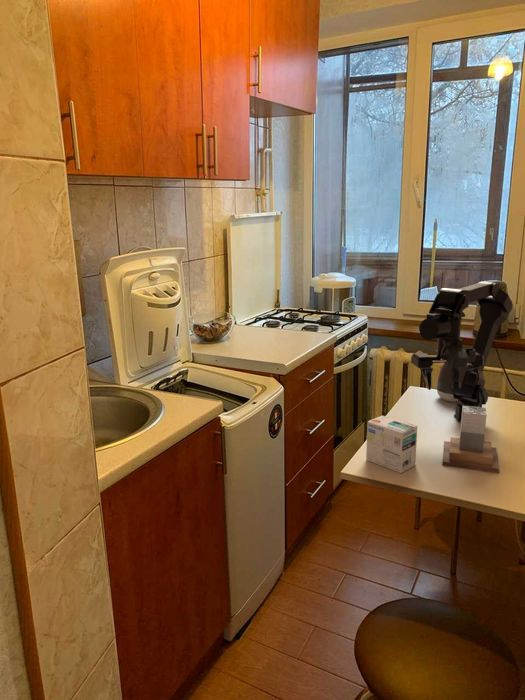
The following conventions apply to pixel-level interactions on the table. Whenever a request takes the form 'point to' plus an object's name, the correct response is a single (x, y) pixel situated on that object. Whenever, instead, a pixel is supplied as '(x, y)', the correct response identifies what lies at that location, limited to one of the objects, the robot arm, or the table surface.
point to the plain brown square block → (472, 429)
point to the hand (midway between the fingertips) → (444, 388)
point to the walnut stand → (470, 457)
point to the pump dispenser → (446, 382)
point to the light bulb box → (391, 443)
